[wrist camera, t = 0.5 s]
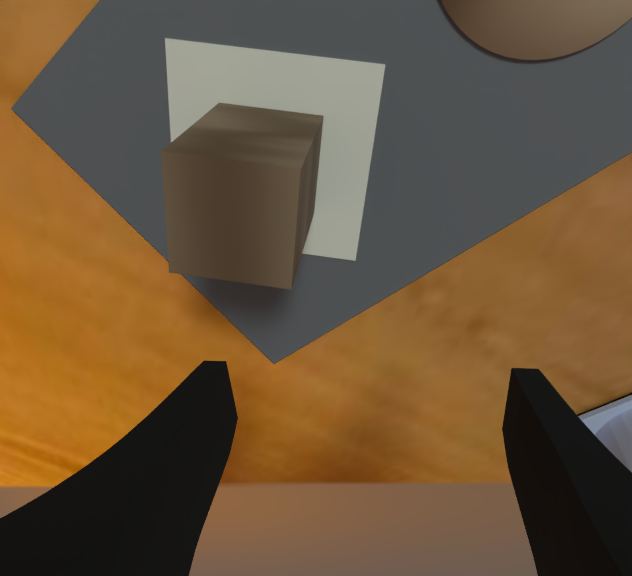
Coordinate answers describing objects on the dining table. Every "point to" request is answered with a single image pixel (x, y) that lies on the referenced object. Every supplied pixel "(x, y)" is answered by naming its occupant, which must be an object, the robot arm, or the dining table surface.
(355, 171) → the card
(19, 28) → the dining table surface
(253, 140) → the walnut block
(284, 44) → the charcoal mat
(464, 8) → the cork coaster
